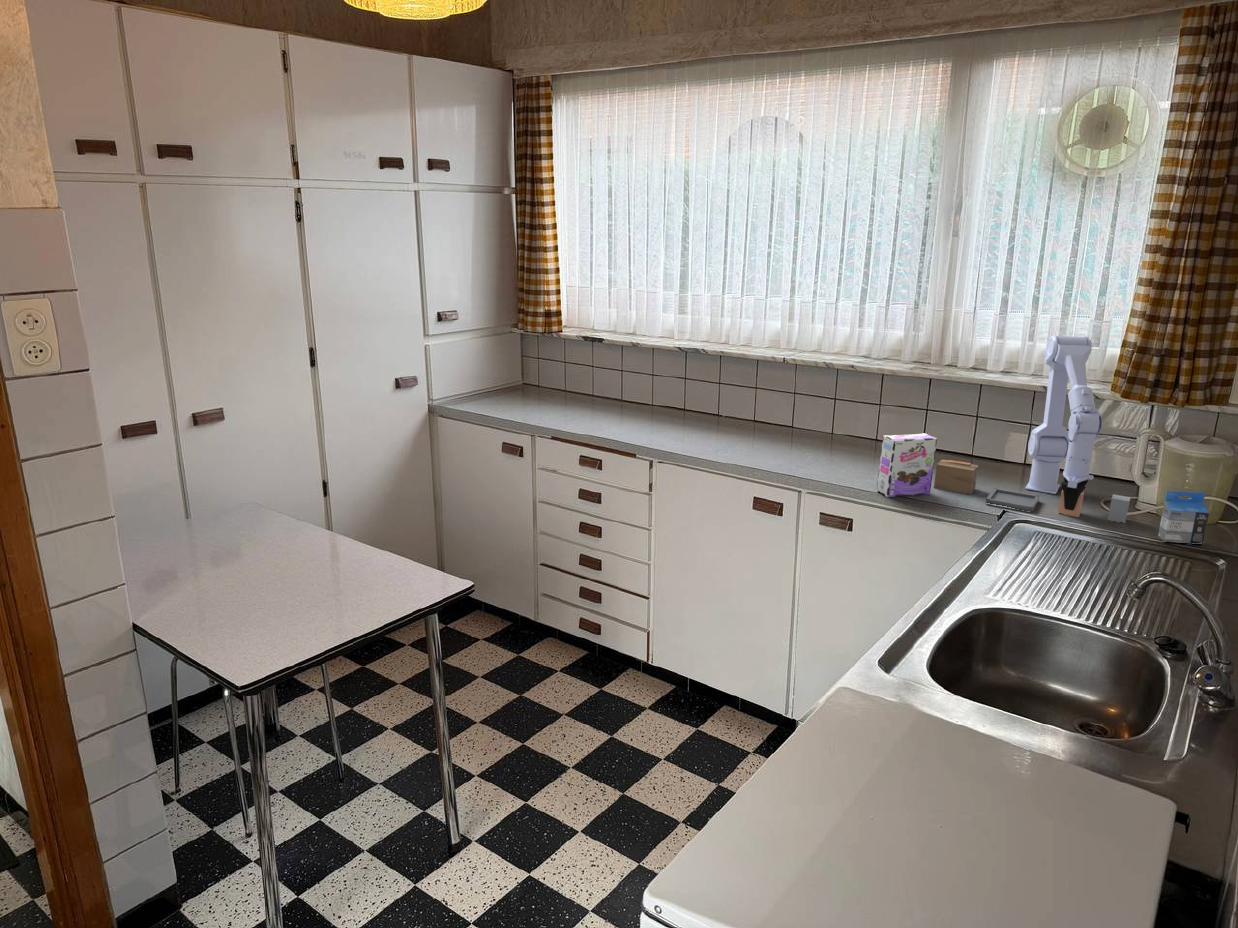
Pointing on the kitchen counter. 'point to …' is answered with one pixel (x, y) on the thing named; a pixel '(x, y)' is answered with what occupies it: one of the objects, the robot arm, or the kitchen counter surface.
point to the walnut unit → (956, 476)
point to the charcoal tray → (1013, 499)
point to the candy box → (906, 464)
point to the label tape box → (1184, 517)
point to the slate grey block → (1118, 508)
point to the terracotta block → (1076, 510)
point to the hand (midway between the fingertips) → (1070, 507)
